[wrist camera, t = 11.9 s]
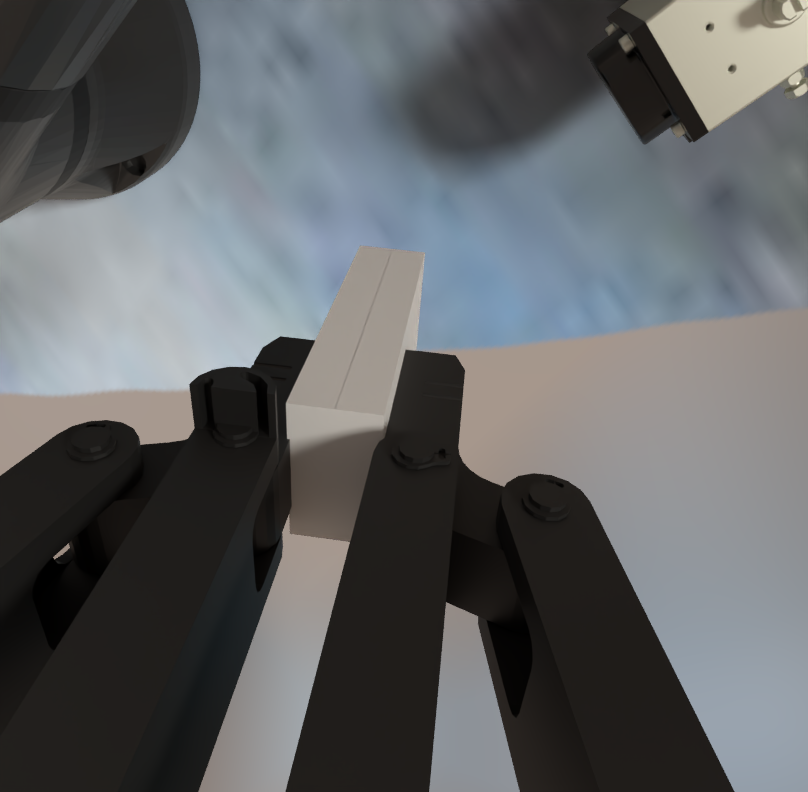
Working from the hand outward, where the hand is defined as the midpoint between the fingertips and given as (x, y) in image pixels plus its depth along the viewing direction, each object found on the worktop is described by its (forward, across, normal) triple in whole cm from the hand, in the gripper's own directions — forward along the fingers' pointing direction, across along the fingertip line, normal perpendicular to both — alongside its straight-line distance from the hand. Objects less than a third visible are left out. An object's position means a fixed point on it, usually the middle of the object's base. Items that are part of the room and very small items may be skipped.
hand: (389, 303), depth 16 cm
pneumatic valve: (+24, +12, +6) cm, 27 cm away
